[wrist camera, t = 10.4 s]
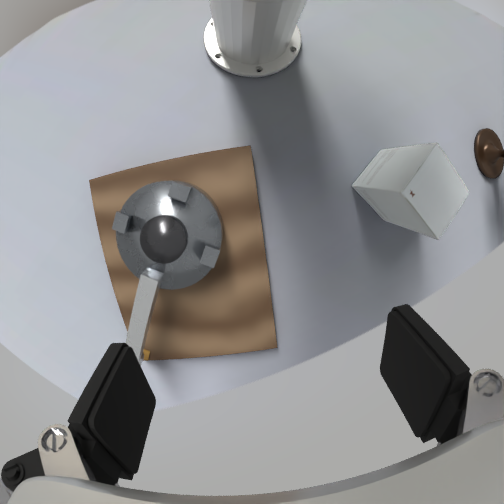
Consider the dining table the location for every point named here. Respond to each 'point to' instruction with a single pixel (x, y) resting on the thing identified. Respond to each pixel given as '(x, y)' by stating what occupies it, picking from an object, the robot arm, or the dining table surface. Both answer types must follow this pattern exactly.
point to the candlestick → (489, 153)
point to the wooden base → (218, 278)
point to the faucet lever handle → (165, 245)
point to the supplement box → (413, 188)
